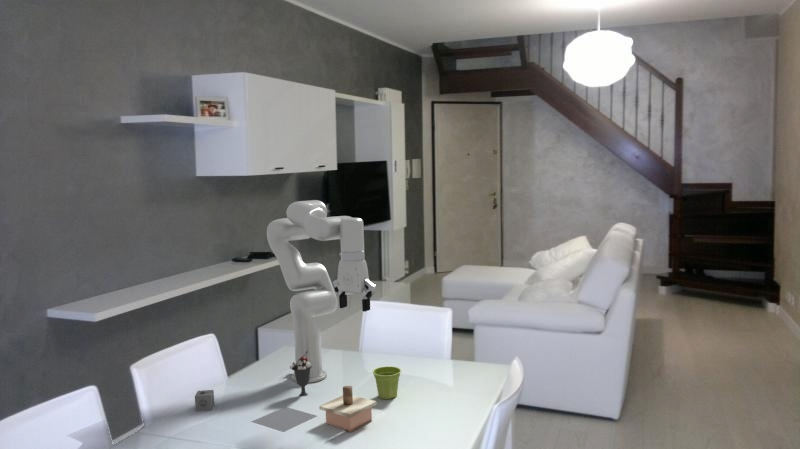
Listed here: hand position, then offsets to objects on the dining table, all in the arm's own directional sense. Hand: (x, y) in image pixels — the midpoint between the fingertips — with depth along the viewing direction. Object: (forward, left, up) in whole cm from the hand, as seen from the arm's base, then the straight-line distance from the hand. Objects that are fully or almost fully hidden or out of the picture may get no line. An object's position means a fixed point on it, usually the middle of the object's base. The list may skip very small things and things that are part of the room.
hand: (354, 309), depth 211 cm
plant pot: (+6, +8, -31) cm, 32 cm away
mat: (-8, -25, -30) cm, 40 cm away
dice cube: (-38, -31, -31) cm, 58 cm away
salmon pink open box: (+10, -16, -30) cm, 36 cm away
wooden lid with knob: (+10, -16, -25) cm, 32 cm away
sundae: (-18, -7, -31) cm, 36 cm away
